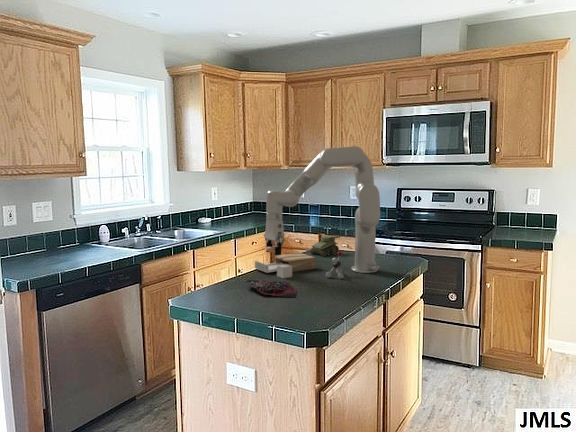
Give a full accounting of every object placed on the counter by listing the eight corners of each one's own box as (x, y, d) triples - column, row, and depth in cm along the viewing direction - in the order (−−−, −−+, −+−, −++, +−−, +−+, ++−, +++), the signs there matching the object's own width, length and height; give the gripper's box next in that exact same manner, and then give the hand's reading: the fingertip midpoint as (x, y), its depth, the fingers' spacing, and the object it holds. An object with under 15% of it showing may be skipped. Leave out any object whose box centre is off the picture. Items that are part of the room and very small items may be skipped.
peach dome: (284, 250, 230) (284, 247, 230) (271, 252, 226) (271, 249, 226) (276, 248, 236) (276, 245, 236) (263, 249, 232) (263, 246, 232)
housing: (315, 268, 238) (315, 257, 237) (290, 272, 229) (290, 261, 229) (299, 262, 249) (299, 252, 248) (274, 266, 241) (274, 255, 240)
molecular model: (324, 278, 219) (325, 255, 218) (331, 272, 230) (331, 250, 229) (342, 279, 216) (343, 256, 215) (348, 273, 228) (348, 251, 226)
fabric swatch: (248, 283, 210) (249, 276, 209) (297, 286, 208) (298, 279, 208) (241, 296, 190) (241, 287, 189) (295, 299, 188) (295, 291, 188)
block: (292, 276, 221) (292, 265, 220) (283, 278, 218) (283, 267, 217) (286, 274, 225) (286, 263, 224) (277, 275, 222) (277, 265, 222)
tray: (292, 268, 232) (292, 261, 231) (266, 272, 224) (266, 265, 223) (280, 264, 241) (280, 257, 240) (255, 268, 233) (254, 261, 232)
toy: (345, 252, 276) (346, 235, 275) (322, 257, 264) (323, 239, 263) (333, 250, 284) (333, 233, 283) (310, 254, 272) (310, 236, 271)
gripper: (291, 218, 224) (290, 255, 226) (271, 214, 239) (270, 249, 241) (277, 219, 220) (276, 257, 222) (258, 214, 234) (257, 251, 237)
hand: (273, 253), depth 231 cm, fingers closed on peach dome, 7 cm apart
